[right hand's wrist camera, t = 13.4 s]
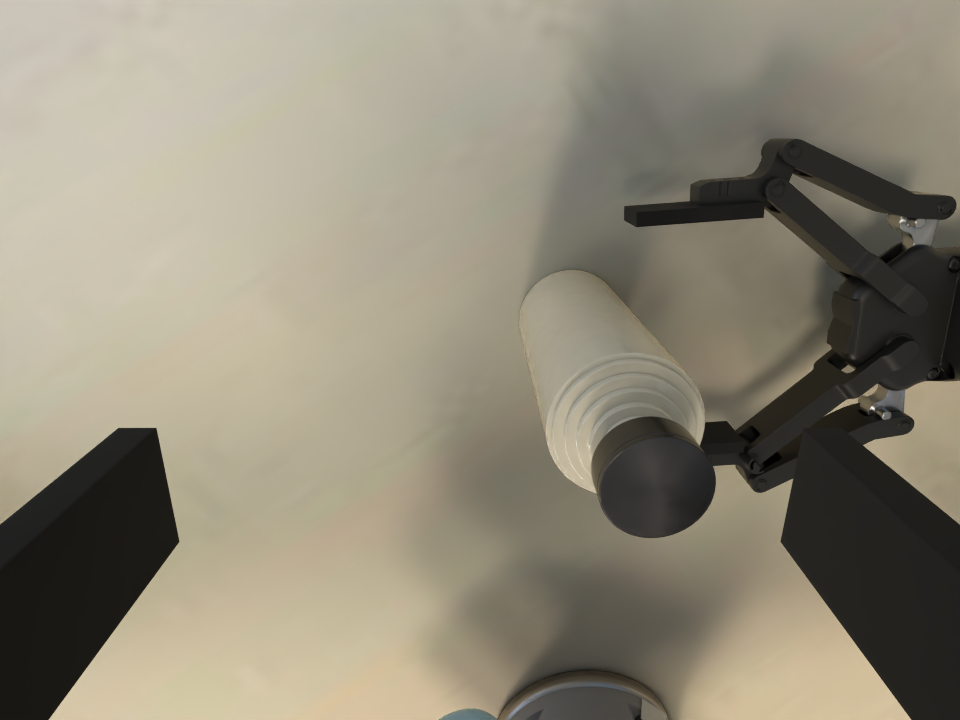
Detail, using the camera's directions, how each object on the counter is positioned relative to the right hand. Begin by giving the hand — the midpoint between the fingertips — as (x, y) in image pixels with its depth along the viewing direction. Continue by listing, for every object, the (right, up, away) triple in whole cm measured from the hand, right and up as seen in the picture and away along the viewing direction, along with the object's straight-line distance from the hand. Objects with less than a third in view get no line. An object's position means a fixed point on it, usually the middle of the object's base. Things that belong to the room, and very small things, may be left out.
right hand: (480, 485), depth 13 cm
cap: (+6, -2, +9) cm, 11 cm away
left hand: (+8, +4, +22) cm, 24 cm away
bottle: (+6, +5, +28) cm, 29 cm away
